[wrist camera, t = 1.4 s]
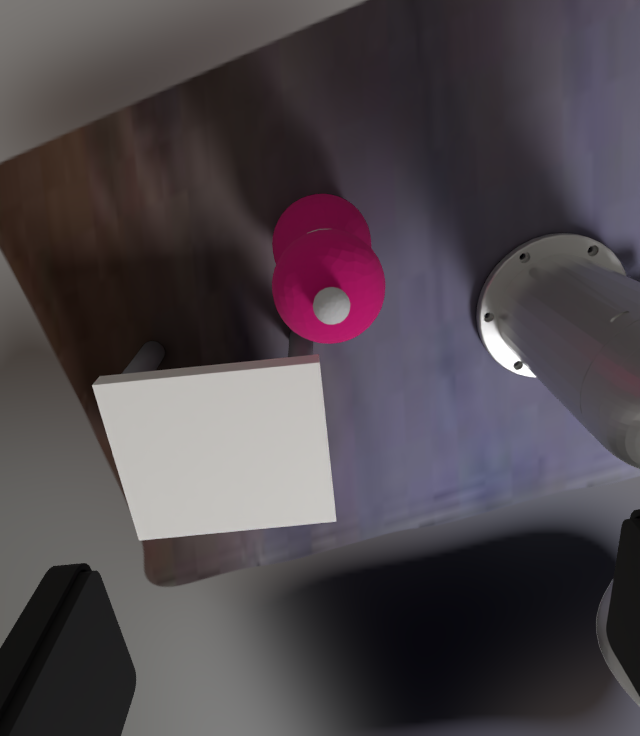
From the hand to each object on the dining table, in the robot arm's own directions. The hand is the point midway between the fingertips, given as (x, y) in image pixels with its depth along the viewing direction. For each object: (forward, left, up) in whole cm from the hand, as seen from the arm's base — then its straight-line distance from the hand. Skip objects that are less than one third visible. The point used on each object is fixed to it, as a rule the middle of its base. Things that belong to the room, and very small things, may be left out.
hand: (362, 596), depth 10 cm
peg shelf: (+9, +14, -36) cm, 40 cm away
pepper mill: (0, 0, -36) cm, 36 cm away
